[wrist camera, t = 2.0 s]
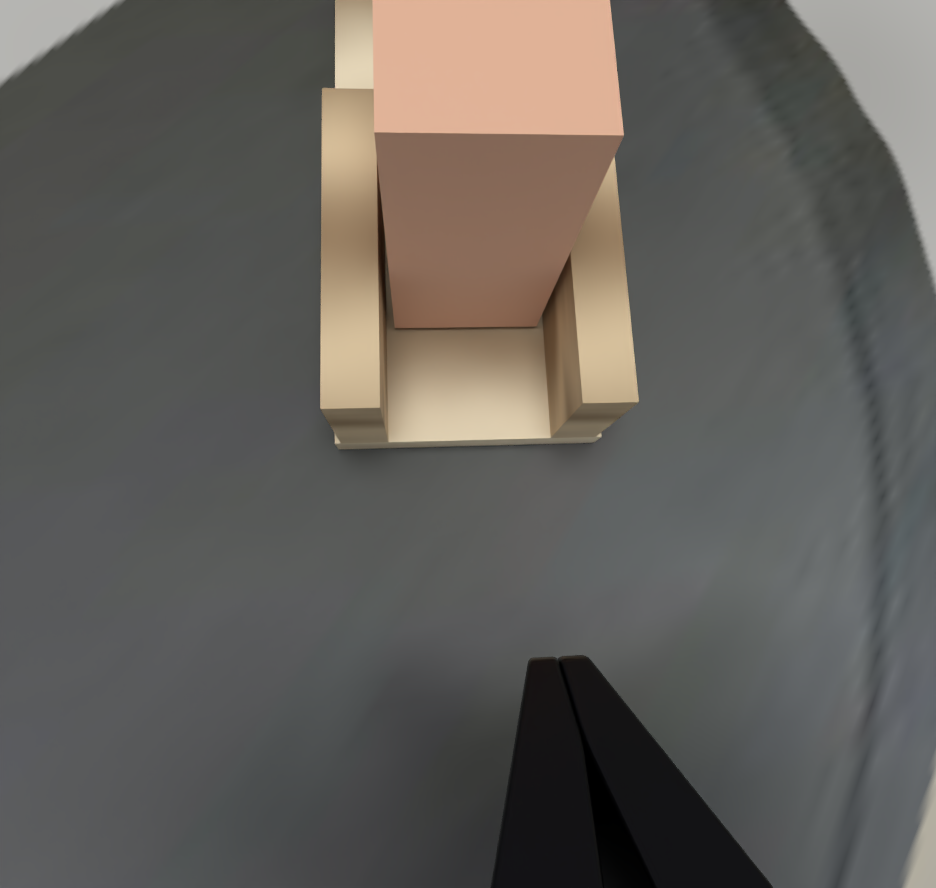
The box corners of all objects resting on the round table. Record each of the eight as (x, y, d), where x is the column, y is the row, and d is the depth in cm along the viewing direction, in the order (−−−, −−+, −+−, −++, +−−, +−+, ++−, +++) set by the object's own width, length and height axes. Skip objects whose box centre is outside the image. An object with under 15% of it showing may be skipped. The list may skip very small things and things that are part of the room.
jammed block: (536, 326, 23) (623, 135, 13) (394, 327, 22) (374, 132, 12) (526, 175, 24) (599, -104, 14) (391, 174, 23) (371, -113, 14)
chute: (593, 442, 23) (645, 401, 18) (338, 449, 23) (312, 409, 17) (557, 6, 27) (591, -136, 22) (338, -1, 26) (317, -149, 21)
